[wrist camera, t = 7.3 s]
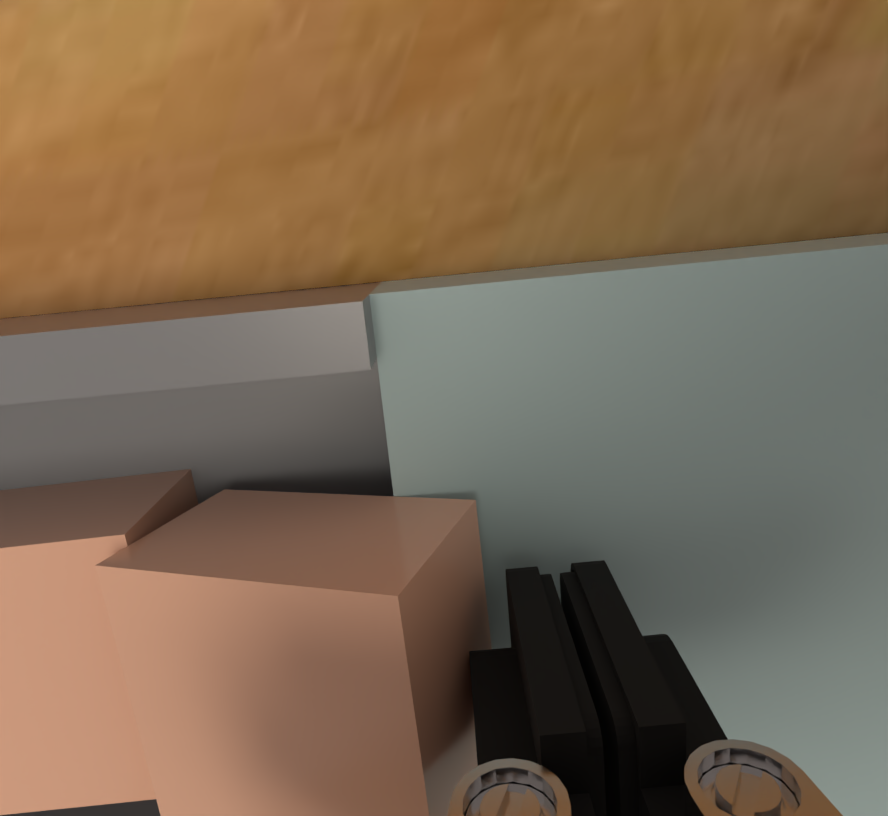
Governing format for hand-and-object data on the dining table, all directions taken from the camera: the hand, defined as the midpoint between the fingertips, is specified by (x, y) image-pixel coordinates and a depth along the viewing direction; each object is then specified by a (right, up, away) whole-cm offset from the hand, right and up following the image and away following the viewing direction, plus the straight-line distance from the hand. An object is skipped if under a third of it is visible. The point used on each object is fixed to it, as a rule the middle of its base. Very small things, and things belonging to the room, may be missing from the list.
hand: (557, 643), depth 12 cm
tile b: (-9, 0, +3) cm, 10 cm away
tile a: (-3, 0, +1) cm, 4 cm away
